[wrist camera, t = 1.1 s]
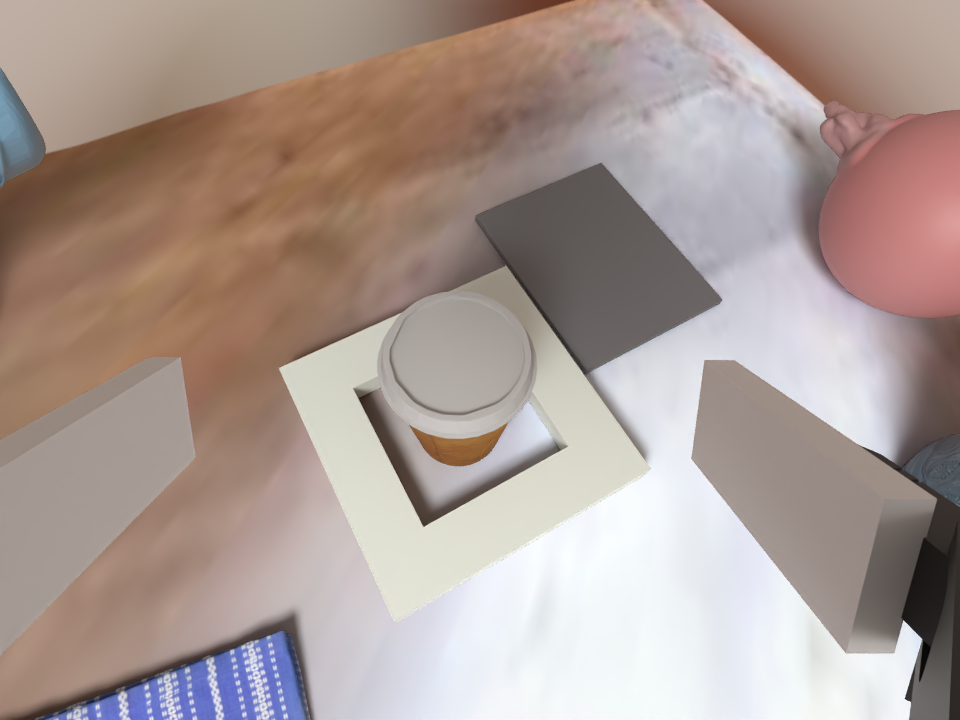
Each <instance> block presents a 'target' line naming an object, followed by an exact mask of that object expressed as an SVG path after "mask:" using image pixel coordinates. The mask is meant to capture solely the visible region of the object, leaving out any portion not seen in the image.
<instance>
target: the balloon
mask: <svg viewBox="0 0 960 720" xmlns="http://www.w3.org/2000/svg"><path fill="white" fill-rule="evenodd" d="M824 112H825V115H826V118H827V120H825V121H824V122H823V123H822V124H821V126H820V134H821V137H822V139H823V140H824V142H825V143H826V144H827V145H828V146H829V147H830V148H831V149H832V150H833V151H834V152H835V153H836V154H837V155H838V156H839V158H840V162H839V165H838V168H837V175H836V177H835V178H834V180H833V181H832V183H831V185H830V187H829V189H828V191H827V193H826V196H825V198H824V201H823V204H822V208H821V212H820V218H819V241H820V246H821V251H822V254H823V257H824V259H825V262H826V264H827V266H828V268H829V269H830V271H831V273H832V274H833V275H834V277H835V278H836V279H837V281H838V282H839V283H840V284H841V285H842V286H843V287H844V288H845V289H846V290H847V291H848V292H850V293H851V294H852V295H854V296H855V297H856V298H858V299H860V300H861V301H863V302H865V303H866V304H868V305H870V306H873V307H875V308H877V309H880V310H883V311H886V312H889V313H893V314H897V315H902V316H908V317H918V318H937V317H948V316H955V315H960V110H951V111H943V112H937V113H932V114H927V115H922V114H907V115H903V116H901V117H899V118H897V119H895V120H892V119H890V118H888V117H887V116H885V115H882V114H872V113H865V112H859V113H858V112H856V111H854V110H851V109H849V108H848V107H846V106H844V105H840V104H839V103H838V102H837V101H830V102H828V103H827V104H826V105H825V107H824Z"/></svg>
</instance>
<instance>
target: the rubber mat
mask: <svg viewBox="0 0 960 720" xmlns="http://www.w3.org/2000/svg"><path fill="white" fill-rule="evenodd" d="M476 221H477V223H478V224H479V226H480V227H481V228H482V230H483V231H484V233H485V234H486V235H487V237H488V238H489V240H490V241H491V243H492V244H493V245H494V247H495V248H496V250H497V251H498V252H499V254H500V255H501V257H502V258H503V259H504V261H505V262H506V264H507V265H508V266H509V268H510V269H511V271H512V272H513V273H514V275H515V276H516V278H517V279H518V280H519V282H520V283H521V285H522V286H523V287H524V289H525V290H526V292H527V293H528V294H529V296H530V297H531V299H532V300H533V301H534V303H535V304H536V306H537V307H538V308H539V310H540V311H541V313H542V314H543V315H544V317H545V318H546V320H547V321H548V322H549V324H550V325H551V327H552V328H553V329H554V331H555V332H556V334H557V335H558V336H559V338H560V339H561V341H562V342H563V343H564V345H565V346H566V348H567V349H568V350H569V352H570V353H571V355H572V356H573V358H574V359H575V360H576V362H577V363H578V365H579V366H580V367H581V369H582V370H583V372H584V373H585V374H586V373H588V372H590V371H592V370H594V369H596V368H598V367H600V366H602V365H604V364H606V363H607V362H609V361H611V360H613V359H615V358H617V357H619V356H621V355H623V354H625V353H626V352H628V351H630V350H632V349H634V348H636V347H638V346H640V345H642V344H644V343H646V342H647V341H649V340H651V339H653V338H655V337H657V336H659V335H661V334H663V333H665V332H667V331H668V330H670V329H672V328H674V327H676V326H678V325H680V324H682V323H684V322H686V321H687V320H689V319H691V318H693V317H695V316H697V315H699V314H701V313H703V312H705V311H707V310H708V309H710V308H712V307H714V306H716V305H718V304H720V302H721V301H722V299H721V298H720V296H719V295H718V294H717V293H716V292H715V291H714V290H713V289H712V287H711V286H710V285H709V284H708V283H707V282H706V281H705V280H704V278H703V277H702V276H701V275H700V274H699V273H698V272H697V271H696V269H695V268H694V267H693V266H692V265H691V264H690V263H689V261H688V260H687V259H686V258H685V257H684V256H683V255H682V254H681V252H680V251H679V250H678V249H677V248H676V247H675V246H674V245H673V243H672V242H671V241H670V240H669V239H668V238H667V237H666V236H665V234H664V233H663V232H662V231H661V230H660V229H659V228H658V226H657V225H656V224H655V223H654V222H653V221H652V220H651V219H650V217H649V216H648V215H647V214H646V213H645V212H644V211H643V210H642V208H641V207H640V206H639V205H638V204H637V203H636V202H635V201H634V199H633V198H632V197H631V196H630V195H629V194H628V193H627V191H626V190H625V189H624V188H623V187H622V186H621V185H620V184H619V182H618V181H617V180H616V179H615V178H614V177H613V176H612V175H611V173H610V172H609V171H608V170H607V169H606V168H605V167H604V166H603V164H602V163H600V164H598V165H595V166H593V167H590V168H588V169H586V170H583V171H581V172H578V173H576V174H574V175H571V176H569V177H567V178H564V179H562V180H559V181H557V182H555V183H552V184H550V185H547V186H545V187H543V188H540V189H538V190H536V191H533V192H531V193H528V194H526V195H524V196H521V197H519V198H517V199H514V200H512V201H509V202H507V203H505V204H502V205H500V206H497V207H495V208H493V209H490V210H488V211H486V212H483V213H481V214H478V215H476Z"/></svg>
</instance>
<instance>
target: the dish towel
mask: <svg viewBox="0 0 960 720" xmlns="http://www.w3.org/2000/svg"><path fill="white" fill-rule="evenodd" d="M33 720H311V719H310V713H309V710H308V705H307V699H306V695H305V689H304V685H303V680H302V673H301V671H300V666H299V663H298V659H297V654H296V651H295V648H294V644H293V641H292V636H291V634H286V633H285V631H284V630H283V631H279V632H276V633H274V634H272V635H268V636H266V637H263V638H261V639H258V640H255V641H250V642H247V643H245V644H242V645H239V646H237V647H235V648H231V649H227V650H225V651H222V652H219V653H216V654H214V655H208V656H206V657H204V658H202V659H200V660H197V661H194V662H191V663H189V664H183V665H182V666H180V667H177V668H173V669H169V670H166V671H164V672H161V673H158V674H156V675H154V676H152V677H149V678H145V679H143V680H141V681H139V682H136V683H133V684H131V685H128V686H124V687H121V688H118V689H116V690H115V691H111V692H109V693H106V694H103V695H100V696H97V697H94V698H92V699H89V700H86V701H83V702H79V703H76V704H74V705H71V706H69V707H67V708H65V709H63V710H60V711H57V712H54V713H51V714H47V715H44V716H41V717H38V718H35V719H33Z"/></svg>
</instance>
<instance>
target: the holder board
mask: <svg viewBox="0 0 960 720" xmlns="http://www.w3.org/2000/svg"><path fill="white" fill-rule="evenodd" d="M451 291H466V292H472V293H478V294H482V295H485V296H487V297H489V298H491V299H494V300H496V301H498V302H500V303H501V304H502V305H504V306H505V307H506V308H508V309H509V310H510V311H511V312H512V313H513V314H514V315H515V316H516V317H517V319H518V320H519V321H520V322H521V324H522V325H523V327H524V328H525V330H526V331H527V332H528V334H529V336H530V338H531V340H532V343H533V345H534V349H535V352H536V359H537V374H536V381H535V384H534V387H533V390H532V393H531V395H530V397H529V399H528V400H529V402H530V403H531V405H532V406H533V408H534V410H535V411H536V413H537V414H538V416H539V417H540V419H541V420H542V422H543V423H544V425H545V426H546V428H547V430H548V431H549V433H550V434H551V436H552V437H553V439H554V440H555V442H556V443H557V445H558V446H559V448H560V450H561V451H559V452H557V453H555V454H554V455H552V456H550V457H548V458H546V459H545V460H543V461H541V462H539V463H537V464H536V465H534V466H532V467H530V468H528V469H527V470H525V471H523V472H521V473H519V474H518V475H516V476H514V477H512V478H510V479H509V480H507V481H505V482H503V483H502V484H500V485H498V486H496V487H494V488H493V489H491V490H489V491H487V492H485V493H484V494H482V495H480V496H478V497H476V498H475V499H473V500H471V501H469V502H467V503H466V504H464V505H462V506H460V507H458V508H457V509H455V510H453V511H451V512H449V513H448V514H446V515H444V516H442V517H440V518H439V519H437V520H435V521H433V522H431V523H430V524H428V525H426V526H424V527H423V525H422V523H421V521H420V519H419V517H418V515H417V513H416V511H415V509H414V507H413V505H412V503H411V501H410V499H409V498H408V496H407V494H406V492H405V490H404V488H403V486H402V484H401V482H400V480H399V478H398V476H397V474H396V472H395V470H394V468H393V466H392V464H391V462H390V460H389V458H388V456H387V454H386V452H385V450H384V448H383V446H382V444H381V443H380V441H379V439H378V437H377V435H376V433H375V431H374V429H373V427H372V425H371V423H370V421H369V419H368V417H367V415H366V413H365V411H364V409H363V407H362V405H361V403H360V401H359V399H358V398H360V397H362V396H364V395H366V394H368V393H370V392H372V391H374V390H377V389H379V388H381V387H380V385H379V379H378V373H377V360H378V354H379V350H380V347H381V344H382V341H383V339H384V337H385V336H386V334H387V332H388V330H389V329H390V328H391V326H392V325H393V323H394V322H395V320H396V319H397V317H398V316H399V315H400V314H401V313H400V314H398V315H396V316H393V317H391V318H389V319H387V320H384V321H382V322H380V323H378V324H376V325H373V326H371V327H369V328H367V329H364V330H362V331H360V332H358V333H356V334H353V335H351V336H349V337H347V338H345V339H342V340H340V341H338V342H336V343H333V344H331V345H329V346H327V347H325V348H322V349H320V350H318V351H316V352H313V353H311V354H309V355H307V356H305V357H302V358H300V359H298V360H296V361H294V362H291V363H289V364H287V365H285V366H282V367H280V368H279V370H280V372H281V374H282V376H283V378H284V381H285V383H286V385H287V387H288V389H289V392H290V394H291V396H292V398H293V400H294V403H295V405H296V407H297V409H298V411H299V414H300V416H301V418H302V420H303V422H304V425H305V427H306V429H307V431H308V433H309V436H310V438H311V440H312V442H313V444H314V447H315V449H316V451H317V453H318V455H319V458H320V460H321V462H322V464H323V466H324V469H325V471H326V473H327V475H328V477H329V480H330V482H331V484H332V486H333V488H334V491H335V493H336V495H337V497H338V499H339V502H340V504H341V506H342V508H343V511H344V513H345V515H346V517H347V519H348V522H349V524H350V526H351V528H352V530H353V533H354V535H355V537H356V539H357V541H358V544H359V546H360V548H361V550H362V552H363V555H364V557H365V559H366V561H367V563H368V566H369V568H370V570H371V572H372V574H373V577H374V579H375V581H376V583H377V585H378V588H379V590H380V592H381V594H382V596H383V599H384V601H385V603H386V605H387V607H388V610H389V612H390V614H391V616H392V618H393V621H395V622H399V621H401V620H402V619H404V618H406V617H407V616H409V615H411V614H412V613H414V612H416V611H417V610H419V609H421V608H423V607H424V606H426V605H428V604H429V603H431V602H433V601H434V600H436V599H438V598H439V597H441V596H443V595H444V594H446V593H448V592H449V591H451V590H453V589H454V588H456V587H458V586H460V585H461V584H463V583H465V582H466V581H468V580H470V579H471V578H473V577H475V576H476V575H478V574H480V573H481V572H483V571H485V570H486V569H488V568H490V567H491V566H493V565H495V564H496V563H498V562H500V561H502V560H503V559H505V558H507V557H508V556H510V555H512V554H513V553H515V552H517V551H518V550H520V549H522V548H523V547H525V546H527V545H528V544H530V543H532V542H533V541H535V540H537V539H539V538H540V537H542V536H544V535H545V534H547V533H549V532H550V531H552V530H554V529H555V528H557V527H559V526H560V525H562V524H564V523H565V522H567V521H569V520H570V519H572V518H574V517H575V516H577V515H579V514H581V513H582V512H584V511H586V510H587V509H589V508H591V507H592V506H594V505H596V504H597V503H599V502H601V501H602V500H604V499H606V498H607V497H609V496H611V495H612V494H614V493H616V492H617V491H619V490H621V489H623V488H624V487H626V486H628V485H629V484H631V483H633V482H634V481H636V480H638V479H639V478H641V477H643V476H644V475H645V474H646V473H647V472H648V471H649V470H650V469H651V468H650V467H649V465H648V464H647V463H646V461H645V460H644V458H643V457H642V456H641V454H640V453H639V451H638V450H637V449H636V447H635V446H634V444H633V443H632V442H631V440H630V439H629V437H628V436H627V434H626V433H625V432H624V430H623V429H622V427H621V426H620V425H619V423H618V422H617V420H616V419H615V418H614V416H613V415H612V413H611V412H610V411H609V409H608V408H607V406H606V405H605V404H604V402H603V401H602V399H601V398H600V397H599V395H598V394H597V392H596V391H595V390H594V388H593V387H592V385H591V384H590V382H589V381H588V380H587V378H586V377H585V375H584V374H583V373H582V371H581V370H580V368H579V367H578V366H577V364H576V363H575V361H574V360H573V359H572V357H571V356H570V354H569V353H568V352H567V350H566V349H565V347H564V346H563V345H562V343H561V342H560V340H559V339H558V338H557V336H556V335H555V333H554V332H553V330H552V329H551V328H550V326H549V325H548V323H547V322H546V321H545V319H544V318H543V316H542V315H541V314H540V312H539V311H538V309H537V308H536V307H535V305H534V304H533V302H532V301H531V300H530V298H529V297H528V295H527V294H526V293H525V291H524V290H523V288H522V287H521V286H520V284H519V283H518V281H517V280H516V278H515V277H514V276H513V274H512V273H511V271H510V270H509V269H508V267H507V266H504V267H502V268H500V269H498V270H495V271H493V272H491V273H489V274H486V275H484V276H482V277H480V278H478V279H475V280H473V281H471V282H469V283H467V284H464V285H462V286H460V287H458V288H455V289H453V290H451ZM449 292H450V291H449Z"/></svg>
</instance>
